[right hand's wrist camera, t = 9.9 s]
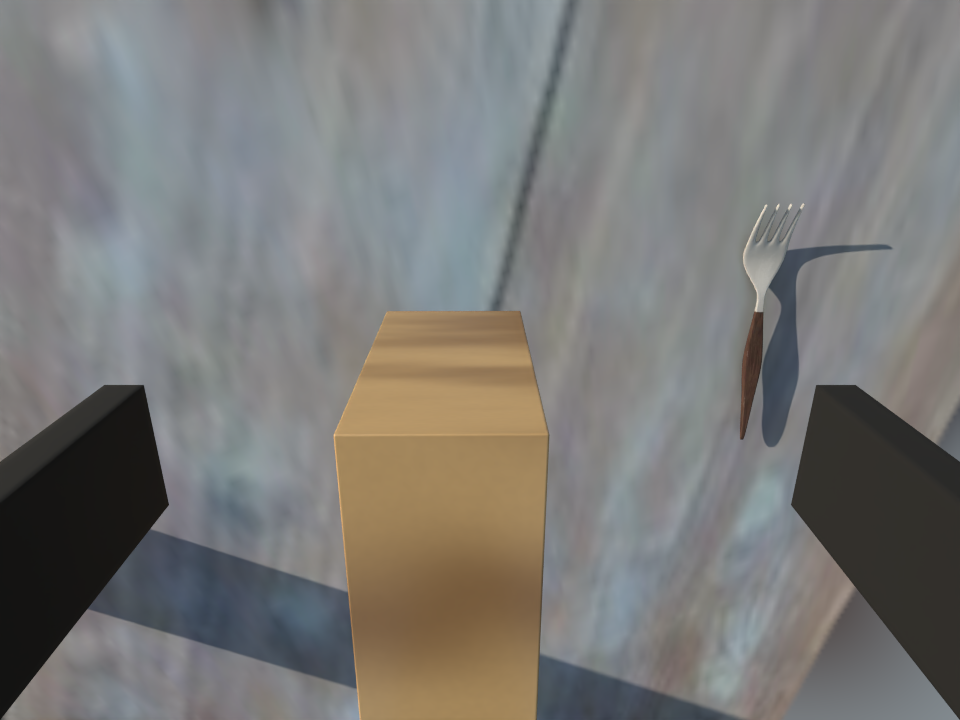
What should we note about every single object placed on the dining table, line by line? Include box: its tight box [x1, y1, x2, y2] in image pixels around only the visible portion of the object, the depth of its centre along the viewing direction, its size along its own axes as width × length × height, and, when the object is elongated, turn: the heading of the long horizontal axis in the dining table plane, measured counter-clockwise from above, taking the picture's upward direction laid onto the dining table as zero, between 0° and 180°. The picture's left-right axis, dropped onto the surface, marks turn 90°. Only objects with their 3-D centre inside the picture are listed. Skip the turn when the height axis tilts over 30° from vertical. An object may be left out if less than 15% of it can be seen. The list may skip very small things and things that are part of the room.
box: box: [334, 311, 549, 720], centre depth 28 cm, size 27×6×12 cm, turn 0°
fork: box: [740, 203, 805, 439], centre depth 40 cm, size 3×16×2 cm, turn 1°
